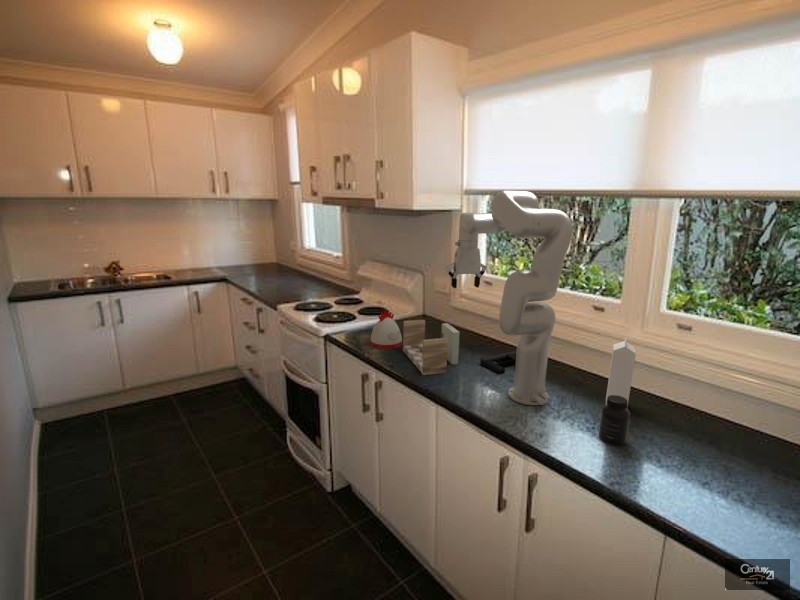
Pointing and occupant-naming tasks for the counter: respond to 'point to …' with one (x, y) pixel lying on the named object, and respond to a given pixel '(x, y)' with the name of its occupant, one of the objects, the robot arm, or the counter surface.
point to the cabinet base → (424, 348)
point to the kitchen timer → (386, 332)
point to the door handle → (499, 367)
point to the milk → (621, 370)
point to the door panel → (451, 342)
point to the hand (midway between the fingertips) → (465, 287)
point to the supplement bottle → (614, 421)
